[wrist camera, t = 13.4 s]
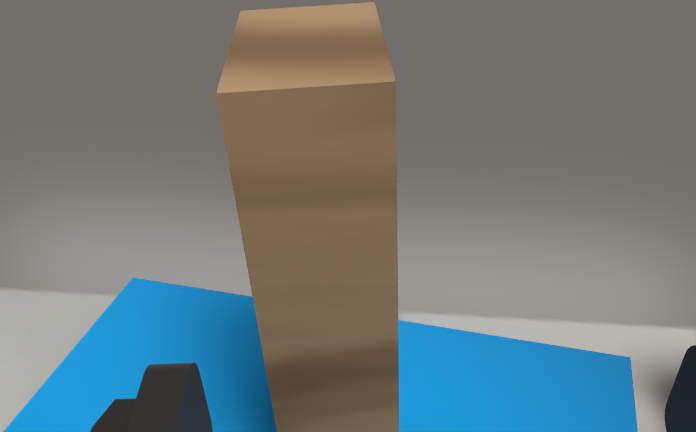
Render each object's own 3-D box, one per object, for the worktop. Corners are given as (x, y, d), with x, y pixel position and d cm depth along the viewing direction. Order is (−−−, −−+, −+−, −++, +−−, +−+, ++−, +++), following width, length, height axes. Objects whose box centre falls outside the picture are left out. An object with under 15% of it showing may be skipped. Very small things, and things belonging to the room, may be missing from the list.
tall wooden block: (400, 495, 24) (395, 81, 14) (289, 503, 24) (216, 93, 14) (384, 370, 28) (374, 2, 19) (293, 376, 28) (240, 11, 19)
